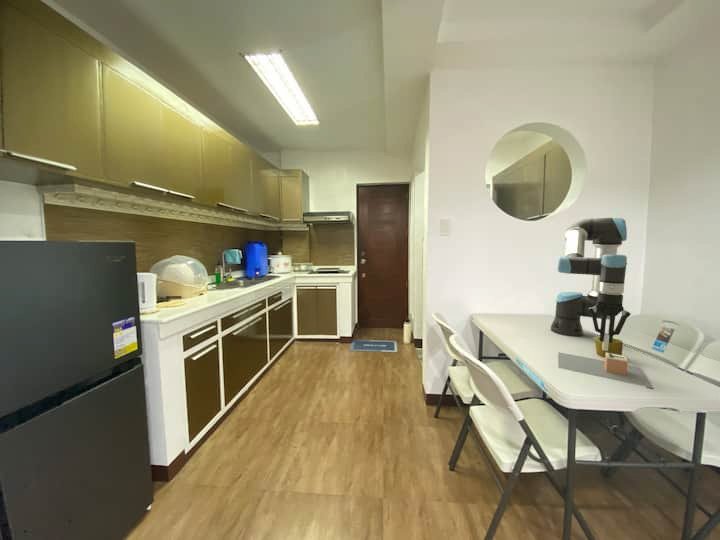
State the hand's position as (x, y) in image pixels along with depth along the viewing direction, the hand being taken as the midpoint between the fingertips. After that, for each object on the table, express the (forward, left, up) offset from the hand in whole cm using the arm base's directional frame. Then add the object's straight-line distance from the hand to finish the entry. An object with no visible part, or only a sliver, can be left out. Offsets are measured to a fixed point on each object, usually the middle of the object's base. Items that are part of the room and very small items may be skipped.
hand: (604, 349), depth 115 cm
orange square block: (0, +4, -2) cm, 4 cm away
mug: (-20, +3, -9) cm, 22 cm away
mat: (0, -1, -8) cm, 8 cm away
